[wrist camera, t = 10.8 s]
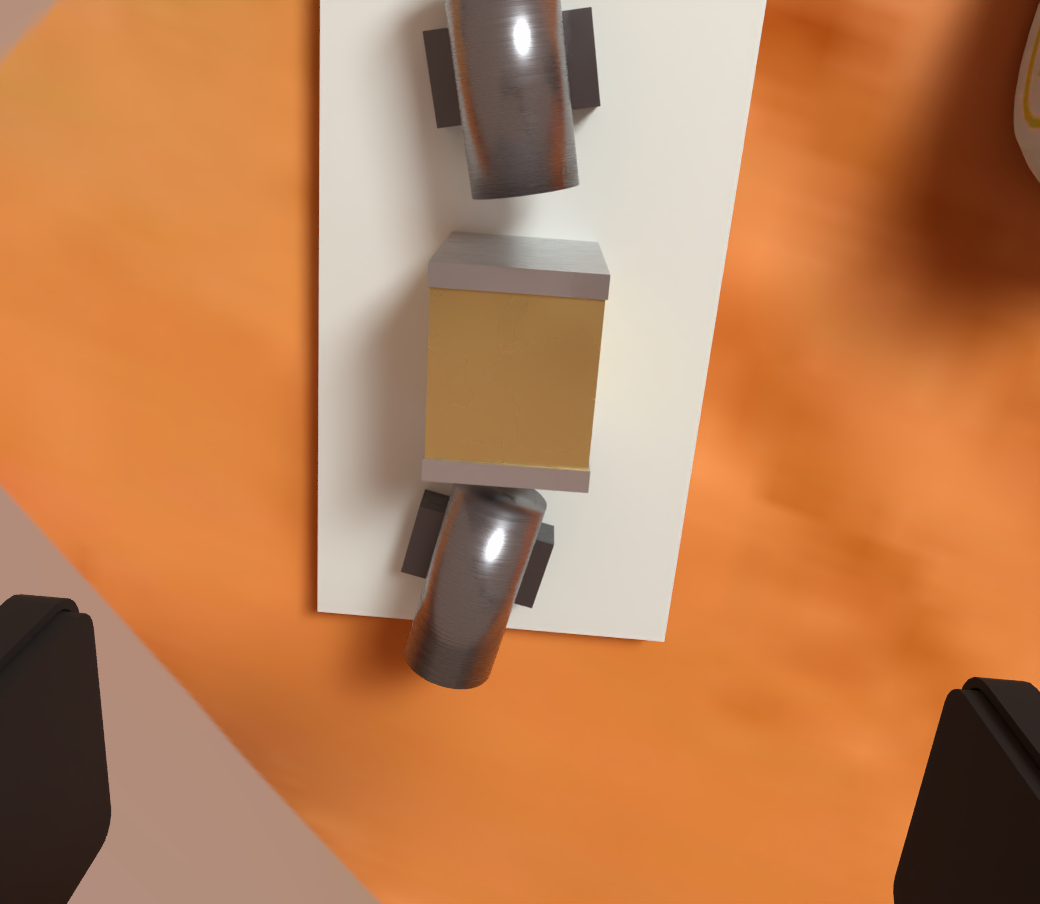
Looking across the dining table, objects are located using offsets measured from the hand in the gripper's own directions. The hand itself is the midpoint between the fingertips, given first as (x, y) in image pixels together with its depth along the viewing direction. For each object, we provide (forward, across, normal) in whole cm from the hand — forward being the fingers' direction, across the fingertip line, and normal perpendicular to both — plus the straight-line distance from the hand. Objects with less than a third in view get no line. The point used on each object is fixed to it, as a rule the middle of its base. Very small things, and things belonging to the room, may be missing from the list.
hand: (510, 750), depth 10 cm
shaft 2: (+19, +1, +7) cm, 20 cm away
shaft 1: (+19, +1, -8) cm, 21 cm away
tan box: (+19, +1, 0) cm, 19 cm away
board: (+20, +1, 0) cm, 20 cm away
